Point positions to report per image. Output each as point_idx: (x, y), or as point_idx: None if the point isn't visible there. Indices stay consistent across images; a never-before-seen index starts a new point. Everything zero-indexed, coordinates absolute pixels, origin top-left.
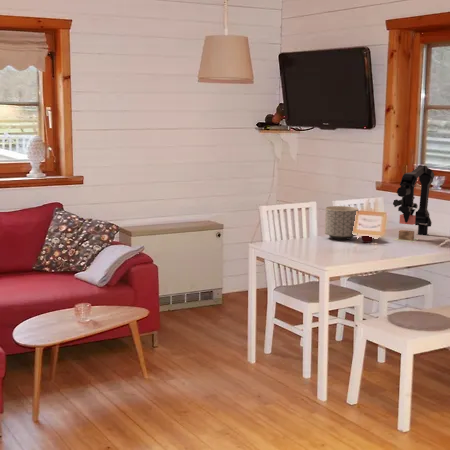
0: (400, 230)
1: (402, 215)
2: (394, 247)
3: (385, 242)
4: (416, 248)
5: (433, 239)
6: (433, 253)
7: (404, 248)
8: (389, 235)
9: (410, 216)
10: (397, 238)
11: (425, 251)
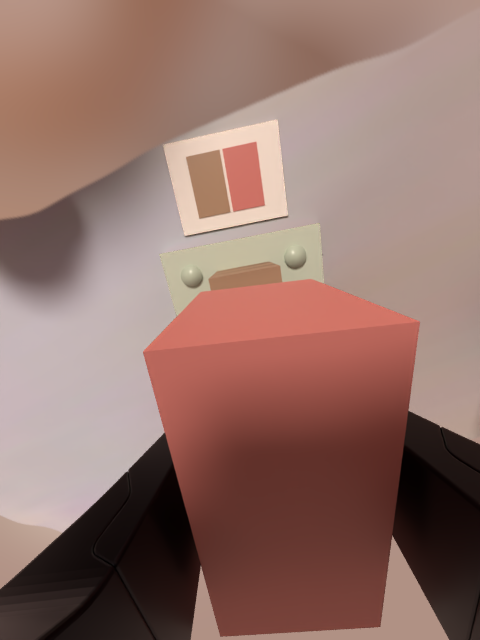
0: (245, 278)
1: (169, 430)
2: (11, 354)
3: (97, 224)
4: (98, 444)
5: (420, 402)
6: (66, 528)
7: (41, 405)
8: (416, 67)
9: (212, 583)
10: (245, 247)
11: (73, 495)
